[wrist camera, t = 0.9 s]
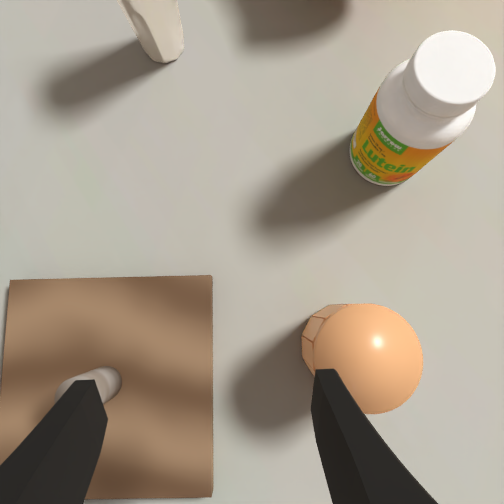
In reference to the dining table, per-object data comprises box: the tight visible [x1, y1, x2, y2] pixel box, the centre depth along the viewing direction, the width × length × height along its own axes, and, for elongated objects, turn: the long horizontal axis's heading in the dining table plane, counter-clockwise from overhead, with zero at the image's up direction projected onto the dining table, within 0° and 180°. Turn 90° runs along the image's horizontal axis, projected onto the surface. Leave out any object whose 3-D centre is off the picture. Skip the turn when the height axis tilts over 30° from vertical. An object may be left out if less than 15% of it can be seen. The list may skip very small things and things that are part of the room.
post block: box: [0, 275, 213, 499], centre depth 22 cm, size 14×14×5 cm
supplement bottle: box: [350, 31, 495, 186], centre depth 22 cm, size 5×5×10 cm
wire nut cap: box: [301, 304, 423, 414], centre depth 21 cm, size 6×6×6 cm
